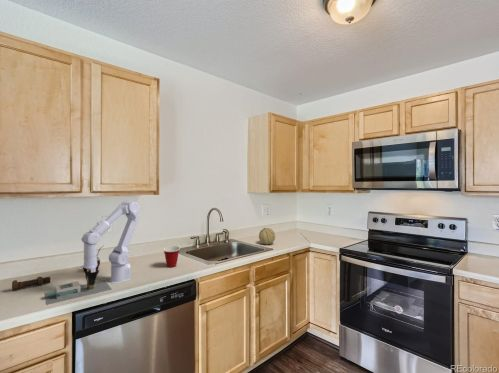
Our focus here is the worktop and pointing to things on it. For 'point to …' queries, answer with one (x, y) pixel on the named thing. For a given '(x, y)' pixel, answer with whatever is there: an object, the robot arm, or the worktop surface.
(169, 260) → the plastic cup
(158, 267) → the worktop surface
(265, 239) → the cantaloupe
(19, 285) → the bolt
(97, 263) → the mate gourd
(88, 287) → the pin
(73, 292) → the grey teal hollow block
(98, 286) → the mat
